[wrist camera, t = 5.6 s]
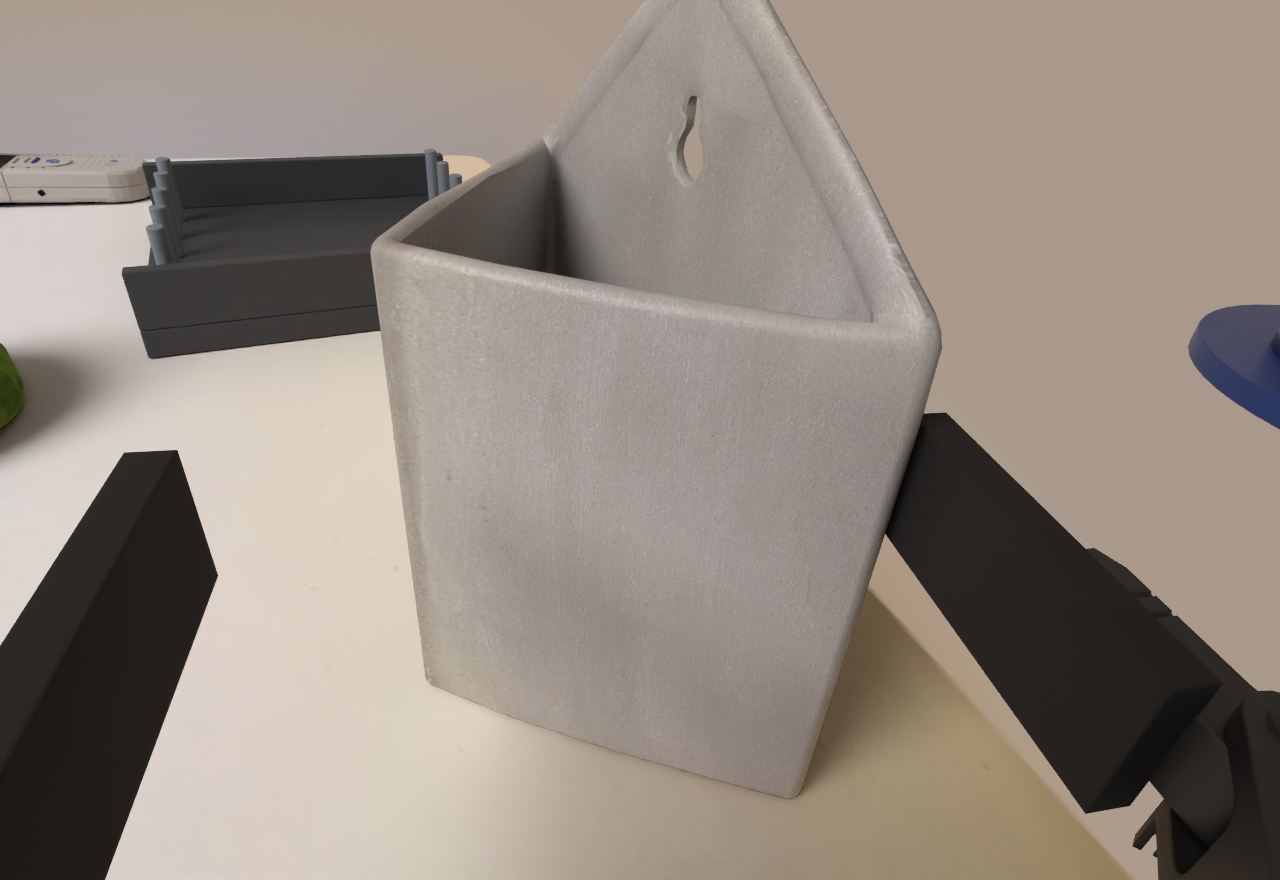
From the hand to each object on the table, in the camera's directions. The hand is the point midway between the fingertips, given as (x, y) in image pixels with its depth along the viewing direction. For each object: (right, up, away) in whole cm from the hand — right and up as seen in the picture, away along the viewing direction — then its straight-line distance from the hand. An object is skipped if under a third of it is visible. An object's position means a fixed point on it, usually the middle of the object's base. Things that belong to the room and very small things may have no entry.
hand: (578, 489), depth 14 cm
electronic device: (-44, +19, +43) cm, 64 cm away
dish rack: (-19, +12, +35) cm, 42 cm away
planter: (-2, -6, +10) cm, 12 cm away
